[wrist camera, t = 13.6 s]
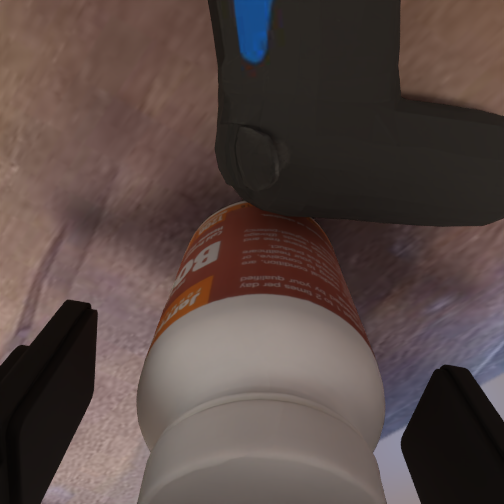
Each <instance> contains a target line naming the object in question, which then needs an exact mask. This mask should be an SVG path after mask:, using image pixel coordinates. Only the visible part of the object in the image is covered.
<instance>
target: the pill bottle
mask: <svg viewBox="0 0 504 504" xmlns="http://www.w3.org/2000/svg"><path fill="white" fill-rule="evenodd" d="M137 415H138V422H139V426H140V429H141V432H142V435H143V437H144V440H145V442H146V444H147V446H148V448H149V450H150V452H151V454H150V456H149V458H148V461H147V464H146V468H145V472H144V476H143V480H142V484H141V489H140V494H139V498H138V502H137V504H387V502H386V498H385V495H384V490H383V486H382V483H381V479H380V472H379V468H378V464H377V461H376V458H375V456H374V455H373V452H374V450H375V448H376V446H377V444H378V441H379V439H380V436H381V432H382V428H383V425H384V418H385V397H384V389H383V383H382V379H381V375H380V372H379V369H378V365H377V362H376V359H375V356H374V353H373V351H372V348H371V345H370V342H369V340H368V338H367V335H366V333H365V330H364V327H363V325H362V323H361V320H360V318H359V315H358V312H357V310H356V308H355V305H354V302H353V300H352V298H351V295H350V292H349V290H348V287H347V285H346V282H345V279H344V277H343V274H342V271H341V269H340V266H339V263H338V261H337V258H336V255H335V253H334V250H333V247H332V245H331V243H330V241H329V239H328V237H327V236H326V234H325V232H324V231H323V230H322V228H321V227H320V226H319V225H318V223H317V222H316V221H315V220H313V219H312V218H311V217H289V216H283V215H279V214H275V213H271V212H267V211H263V210H261V209H259V208H257V207H255V206H253V205H251V204H250V203H248V202H246V201H242V202H238V203H234V204H232V205H229V206H227V207H225V208H222V209H221V210H219V211H217V212H216V213H214V214H213V215H211V216H210V217H209V218H208V219H206V220H205V221H204V222H203V223H202V224H201V226H200V227H199V228H198V229H197V231H196V232H195V234H194V235H193V237H192V239H191V241H190V243H189V245H188V247H187V249H186V252H185V254H184V257H183V260H182V263H181V265H180V268H179V271H178V273H177V276H176V279H175V282H174V284H173V287H172V289H171V292H170V295H169V298H168V300H167V303H166V305H165V308H164V310H163V313H162V316H161V318H160V321H159V324H158V326H157V329H156V332H155V335H154V338H153V340H152V343H151V346H150V348H149V351H148V353H147V356H146V359H145V362H144V366H143V369H142V373H141V376H140V380H139V384H138V390H137Z"/></svg>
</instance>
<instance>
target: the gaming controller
mask: <svg viewBox="0 0 504 504" xmlns="http://www.w3.org/2000/svg"><path fill="white" fill-rule="evenodd" d="M208 4H209V10H210V15H211V21H212V27H213V34H214V41H215V48H216V55H217V63H218V83H219V88H218V105H219V106H218V119H217V135H216V142H215V153H216V158H217V163H218V168H219V170H220V172H221V174H222V176H223V178H224V180H225V182H226V184H228V185H230V186H232V187H233V188H234V189H235V191H236V192H237V193H238V194H239V195H240V197H241V198H242V199H243V200H244V201H246V202H248V203H250V204H251V205H253V206H255V207H257V208H259V209H261V210H263V211H267V212H271V213H275V214H279V215H283V216H289V217H314V218H332V219H349V220H360V221H369V222H378V223H392V224H406V225H420V226H441V227H448V226H483V225H487V224H490V223H493V222H495V221H498V220H500V219H503V218H504V116H501V115H497V114H493V113H489V112H485V111H481V110H475V109H469V108H463V107H457V106H451V105H444V104H436V103H428V102H420V101H412V100H406V99H404V98H402V97H401V90H400V79H399V69H398V61H399V50H400V0H208Z"/></svg>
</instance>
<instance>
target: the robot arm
mask: <svg viewBox="0 0 504 504" xmlns="http://www.w3.org/2000/svg"><path fill="white" fill-rule="evenodd" d="M97 319H98V312H97V310H93V309H91V304H90V303H86V302H80V301H74V300H66V301H65V302H64V303H63V305H62V306H61V307H60V308H59V310H58V311H57V312H56V313H55V315H54V316H53V317H52V318H51V320H50V321H49V322H48V323H47V325H46V326H45V327H44V328H43V330H42V331H41V332H40V333H39V335H38V336H37V337H36V338H35V340H34V341H33V342H32V343H31V345H30V346H25V345H20V346H18V347H17V348H16V349H15V350H13V352H12V353H11V354H10V355H9V356H8V358H7V359H6V360H5V361H4V362H3V363H2V365H1V366H0V504H41V501H42V499H43V497H44V495H45V493H46V491H47V489H48V487H49V485H50V483H51V481H52V479H53V477H54V475H55V473H56V471H57V469H58V467H59V465H60V463H61V461H62V459H63V457H64V455H65V453H66V451H67V449H68V447H69V444H70V442H71V440H72V438H73V436H74V434H75V432H76V430H77V428H78V426H79V424H80V422H81V420H82V418H83V416H84V414H85V412H86V410H87V408H88V406H89V404H90V402H91V399H92V396H93V391H94V379H95V359H96V339H97ZM401 449H402V453H403V456H404V459H405V461H406V464H407V467H408V469H409V472H410V474H411V477H412V480H413V483H414V486H415V488H416V491H417V494H418V496H419V499H420V502H421V504H504V422H503V420H502V418H501V417H500V415H499V414H498V412H497V411H496V410H495V408H494V407H493V405H492V404H491V402H490V401H489V399H488V398H487V396H486V395H485V393H484V392H483V390H482V389H481V387H480V386H479V384H478V383H477V382H476V380H475V379H474V377H473V376H472V374H471V373H470V371H469V370H468V369H466V368H463V367H457V366H452V365H443V366H441V367H440V369H436V370H435V371H434V372H433V374H432V376H431V378H430V380H429V382H428V384H427V386H426V388H425V390H424V392H423V394H422V397H421V399H420V401H419V403H418V405H417V407H416V409H415V411H414V413H413V415H412V417H411V419H410V421H409V423H408V425H407V427H406V429H405V431H404V433H403V436H402V438H401Z"/></svg>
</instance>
